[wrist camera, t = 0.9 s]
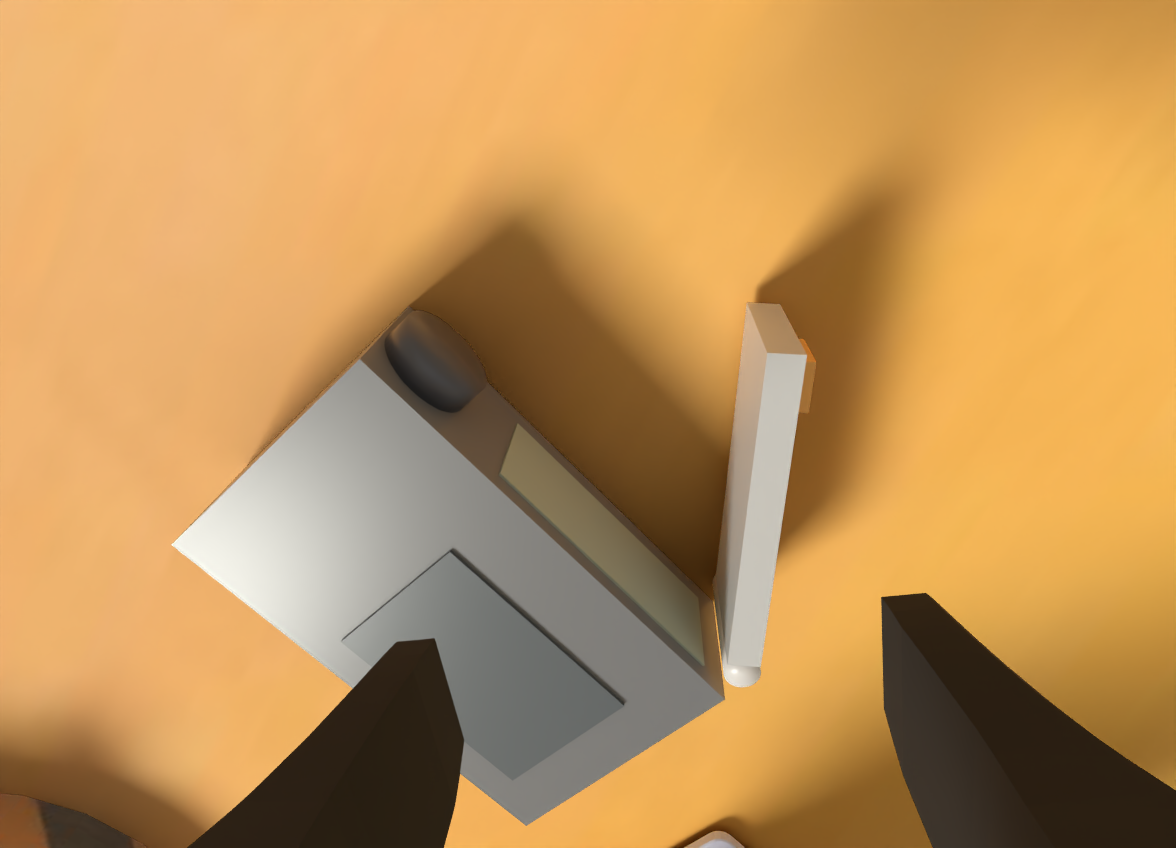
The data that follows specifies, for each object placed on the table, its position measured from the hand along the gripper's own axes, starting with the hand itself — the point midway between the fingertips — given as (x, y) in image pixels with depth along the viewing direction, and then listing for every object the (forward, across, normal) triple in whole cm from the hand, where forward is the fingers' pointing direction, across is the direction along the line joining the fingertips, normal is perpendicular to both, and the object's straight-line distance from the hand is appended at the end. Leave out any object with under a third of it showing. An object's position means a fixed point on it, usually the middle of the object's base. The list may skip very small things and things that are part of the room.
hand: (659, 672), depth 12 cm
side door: (+10, -2, +2) cm, 11 cm away
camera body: (+10, +5, +4) cm, 12 cm away
